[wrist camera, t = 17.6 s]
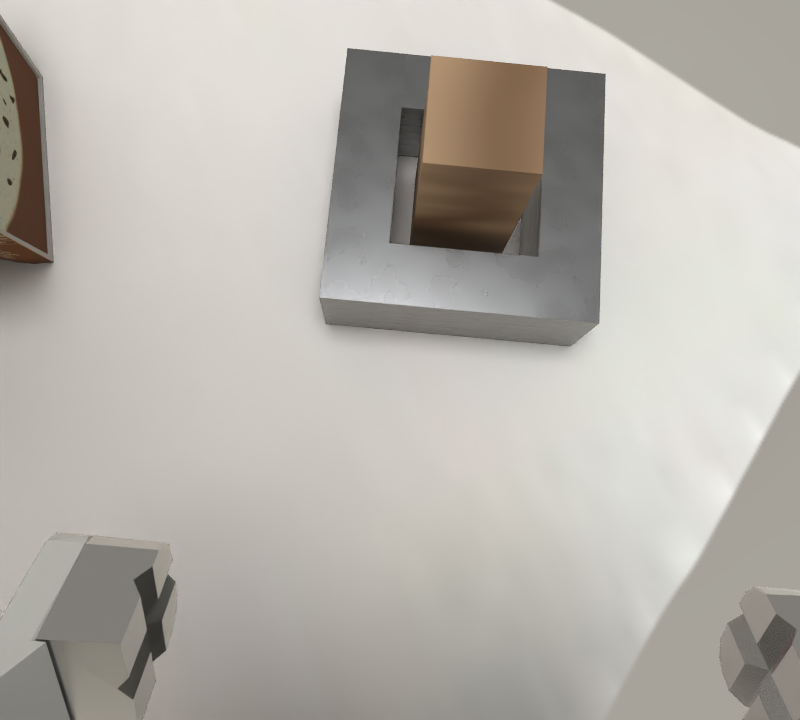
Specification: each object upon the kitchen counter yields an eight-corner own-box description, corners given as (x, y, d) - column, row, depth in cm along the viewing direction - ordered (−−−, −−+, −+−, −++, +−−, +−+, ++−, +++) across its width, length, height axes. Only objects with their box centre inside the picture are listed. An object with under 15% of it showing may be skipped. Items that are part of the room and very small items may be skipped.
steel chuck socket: (326, 323, 31) (319, 297, 27) (350, 102, 33) (347, 48, 29) (570, 345, 31) (599, 323, 27) (578, 124, 33) (605, 74, 29)
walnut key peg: (408, 257, 32) (422, 162, 23) (415, 177, 32) (431, 55, 24) (495, 265, 32) (542, 173, 23) (500, 185, 33) (547, 67, 24)
